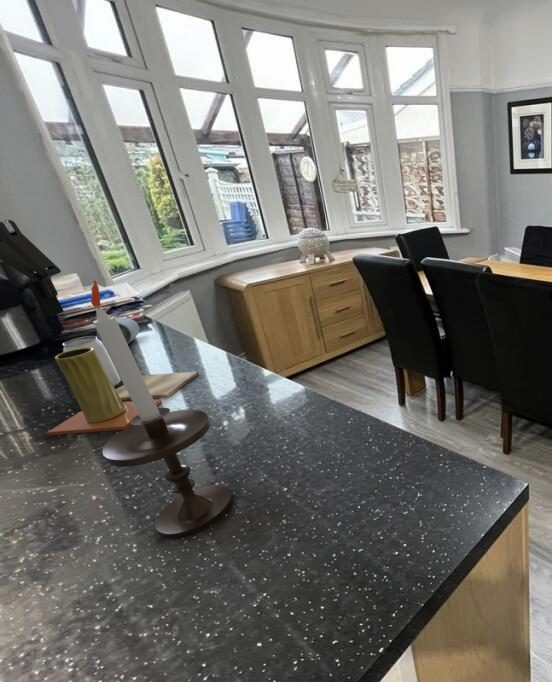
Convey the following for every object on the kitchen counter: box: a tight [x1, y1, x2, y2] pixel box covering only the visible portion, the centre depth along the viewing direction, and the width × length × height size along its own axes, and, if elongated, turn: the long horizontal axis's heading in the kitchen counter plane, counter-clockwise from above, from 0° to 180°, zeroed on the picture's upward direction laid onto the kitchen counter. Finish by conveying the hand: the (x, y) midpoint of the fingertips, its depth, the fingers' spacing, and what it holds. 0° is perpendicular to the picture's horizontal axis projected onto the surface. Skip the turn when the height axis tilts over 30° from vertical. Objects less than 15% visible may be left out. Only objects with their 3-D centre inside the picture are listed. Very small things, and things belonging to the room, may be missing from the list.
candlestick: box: [90, 279, 234, 540], centre depth 51 cm, size 11×11×35 cm
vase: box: [54, 347, 126, 423], centre depth 79 cm, size 6×6×14 cm
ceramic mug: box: [96, 317, 140, 345], centre depth 117 cm, size 11×8×8 cm
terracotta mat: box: [47, 398, 162, 436], centre depth 82 cm, size 14×10×1 cm
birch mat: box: [115, 371, 199, 402], centre depth 93 cm, size 14×11×1 cm
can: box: [62, 335, 122, 388], centre depth 92 cm, size 6×6×12 cm
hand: (13, 315), depth 70 cm, fingers open, 13 cm apart
